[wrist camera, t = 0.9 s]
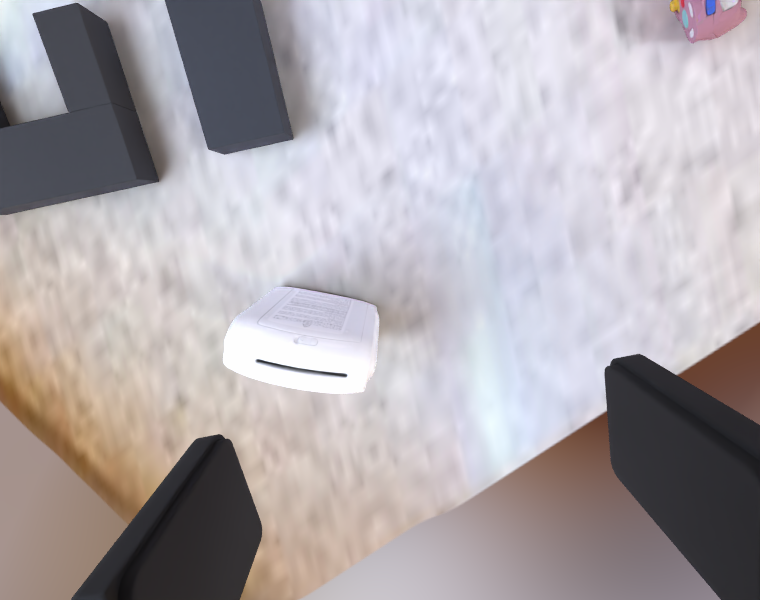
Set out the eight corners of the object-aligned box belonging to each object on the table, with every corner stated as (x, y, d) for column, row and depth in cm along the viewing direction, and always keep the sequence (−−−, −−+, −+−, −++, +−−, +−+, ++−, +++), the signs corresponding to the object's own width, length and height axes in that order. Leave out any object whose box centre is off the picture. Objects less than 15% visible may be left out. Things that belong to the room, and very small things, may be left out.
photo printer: (265, 324, 35) (205, 387, 23) (271, 280, 34) (211, 321, 22) (374, 344, 36) (370, 416, 24) (383, 301, 35) (384, 353, 23)
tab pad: (185, 18, 29) (164, -2, 26) (260, 1, 29) (247, -22, 26) (224, 154, 32) (208, 149, 29) (293, 139, 31) (284, 132, 28)
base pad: (-60, 62, 30) (-107, 47, 27) (107, 22, 29) (77, 2, 26) (6, 214, 33) (-31, 215, 30) (159, 181, 32) (137, 179, 29)
